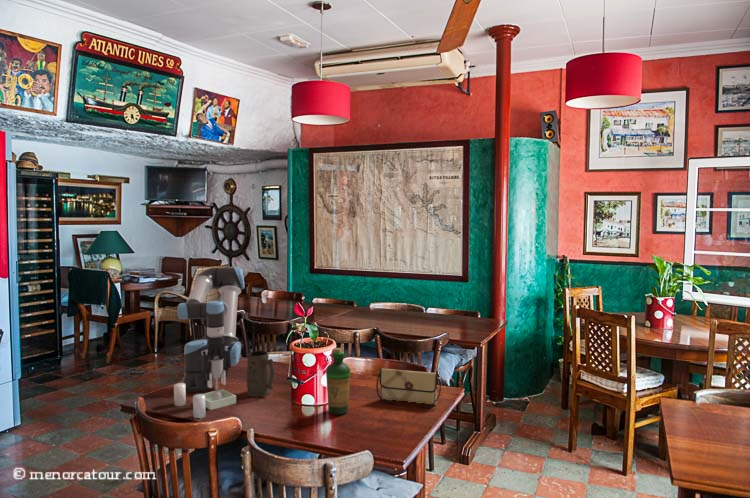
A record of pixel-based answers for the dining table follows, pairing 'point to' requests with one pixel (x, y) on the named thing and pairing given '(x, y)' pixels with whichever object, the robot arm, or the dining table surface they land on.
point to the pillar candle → (199, 406)
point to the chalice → (216, 375)
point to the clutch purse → (408, 386)
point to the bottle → (338, 384)
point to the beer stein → (259, 374)
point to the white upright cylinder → (179, 394)
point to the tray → (219, 400)
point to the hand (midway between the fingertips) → (216, 385)
